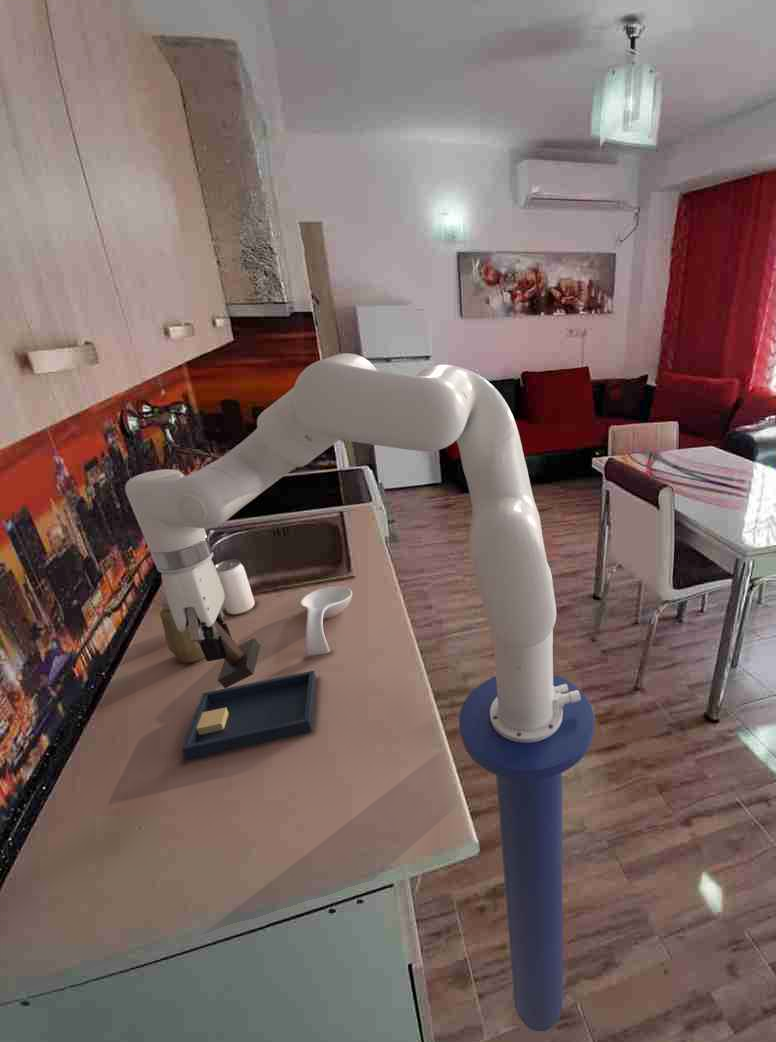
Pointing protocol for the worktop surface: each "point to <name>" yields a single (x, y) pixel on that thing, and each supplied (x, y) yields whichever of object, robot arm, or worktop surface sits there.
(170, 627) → the squeeze bottle
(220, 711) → the yellow square block
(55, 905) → the worktop surface
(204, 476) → the robot arm
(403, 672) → the worktop surface
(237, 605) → the can
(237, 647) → the stamp with brown handle
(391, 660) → the worktop surface
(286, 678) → the tray
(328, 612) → the spoon rest
